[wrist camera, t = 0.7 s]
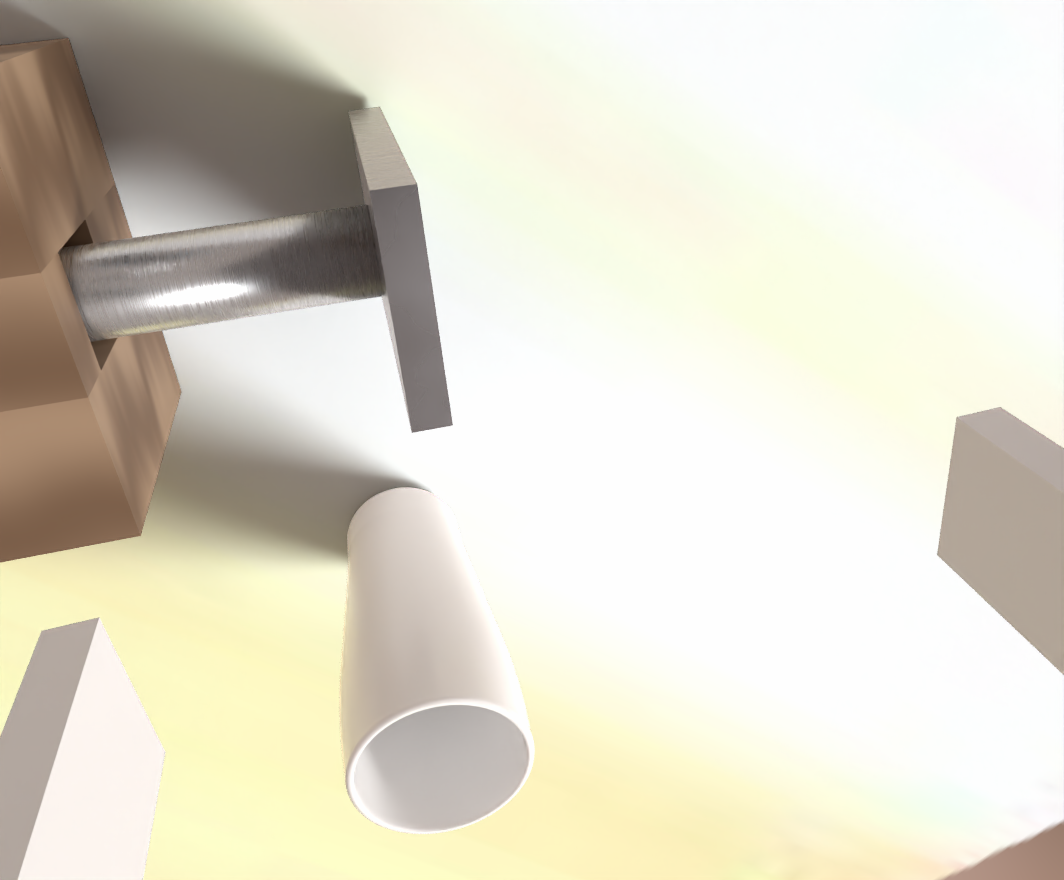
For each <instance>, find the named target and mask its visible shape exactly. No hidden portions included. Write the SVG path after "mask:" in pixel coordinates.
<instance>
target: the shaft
mask: <svg viewBox="0 0 1064 880" xmlns="http://www.w3.org/2000/svg"><path fill="white" fill-rule="evenodd" d="M348 113H349V119H350V124H351V130H352V135H353V141H354V147H355V152H356V158H357V163H358V169H359V175H360V180H361V186H362V191H363V197H364V202H365V205H362V206H355V207H348V208H341V209H333V210H326V211H319V212H312V213H305V214H298V215H291V216H284V217H277V218H270V219H262V220H255V221H248V222H241V223H234V224H227V225H220V226H213V227H206V228H199V229H191V230H184V231H177V232H170V233H163V234H156V235H149V236H142V237H135V238H128V239H120V240H113V241H106V242H99V243H92V244H85V245H78V246H71V247H64V248H61V249H60V250H59V252H58V254H59V257H60V260H61V263H62V265H63V268H64V271H65V274H66V276H67V279H68V282H69V285H70V287H71V290H72V293H73V295H74V298H75V301H76V304H77V306H78V309H79V312H80V315H81V317H82V320H83V323H84V326H85V328H86V331H87V334H88V337H89V339H90V342H93V341H99V340H106V339H112V338H118V337H125V336H131V335H137V334H144V333H150V332H157V331H163V330H169V329H176V328H182V327H188V326H195V325H201V324H208V323H214V322H220V321H227V320H233V319H239V318H246V317H252V316H259V315H265V314H271V313H278V312H284V311H290V310H297V309H303V308H310V307H316V306H322V305H329V304H335V303H341V302H348V301H354V300H360V299H367V298H373V297H380V296H382V300H383V304H384V309H385V313H386V318H387V322H388V327H389V331H390V336H391V340H392V345H393V349H394V354H395V358H396V363H397V368H398V372H399V377H400V381H401V386H402V390H403V395H404V399H405V404H406V408H407V413H408V417H409V422H410V426H411V431H412V433H413V432H418V431H424V430H429V429H435V428H440V427H446V426H451V425H453V424H452V417H451V411H450V404H449V397H448V390H447V384H446V377H445V370H444V363H443V357H442V350H441V343H440V336H439V330H438V323H437V316H436V309H435V302H434V296H433V289H432V282H431V275H430V269H429V262H428V255H427V248H426V242H425V235H424V228H423V221H422V214H421V208H420V201H419V194H418V187H417V183H416V181H415V179H414V177H413V175H412V173H411V170H410V168H409V166H408V164H407V162H406V160H405V158H404V156H403V154H402V152H401V150H400V148H399V146H398V143H397V141H396V139H395V137H394V135H393V133H392V131H391V129H390V127H389V125H388V123H387V121H386V119H385V116H384V114H383V112H382V110H381V108H380V107H374V108H366V109H358V110H350V111H348Z"/></svg>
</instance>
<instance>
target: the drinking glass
mask: <svg viewBox="0 0 1064 880" xmlns="http://www.w3.org/2000/svg"><path fill="white" fill-rule="evenodd" d="M347 549H348V571H347V587H346V601H345V615H344V628H343V641H342V654H341V668H340V687H339V717H340V736H341V748H342V757H343V766H344V774H345V785H346V789H347V793H348V795H349V798H350V800H351V801H352V803H353V805H354V806H355V807H356V809H357V810H358V811H359V812H360V813H361V814H362V815H363V816H365V817H366V818H367V819H369V820H370V821H372V822H374V823H375V824H377V825H379V826H382V827H384V828H387V829H390V830H394V831H398V832H403V833H412V834H432V833H441V832H446V831H451V830H455V829H459V828H462V827H465V826H468V825H471V824H473V823H476V822H478V821H480V820H482V819H484V818H486V817H488V816H490V815H491V814H493V813H494V812H496V811H498V810H499V809H500V808H502V807H503V806H504V805H505V804H507V803H508V802H509V801H510V800H511V799H512V798H513V797H514V796H515V795H516V794H517V793H518V791H519V790H520V789H521V788H522V786H523V785H524V783H525V782H526V780H527V778H528V776H529V774H530V771H531V769H532V765H533V761H534V741H533V737H532V733H531V728H530V724H529V719H528V715H527V710H526V706H525V702H524V698H523V695H522V691H521V687H520V684H519V680H518V677H517V674H516V671H515V668H514V665H513V662H512V659H511V656H510V654H509V651H508V648H507V646H506V643H505V641H504V639H503V636H502V634H501V631H500V629H499V627H498V624H497V622H496V620H495V617H494V615H493V613H492V610H491V608H490V606H489V603H488V601H487V599H486V596H485V594H484V592H483V589H482V587H481V585H480V582H479V580H478V578H477V575H476V573H475V571H474V568H473V566H472V563H471V561H470V559H469V556H468V554H467V551H466V549H465V546H464V544H463V541H462V539H461V536H460V532H459V528H458V524H457V521H456V518H455V516H454V514H453V512H452V510H451V509H450V508H449V506H448V505H447V504H446V503H445V502H444V501H443V500H442V499H441V498H439V497H438V496H436V495H434V494H433V493H431V492H428V491H426V490H422V489H418V488H410V487H401V488H394V489H390V490H386V491H383V492H381V493H379V494H377V495H375V496H373V497H371V498H370V499H369V500H367V501H366V502H365V503H364V504H363V505H362V506H361V507H360V508H359V509H358V510H357V512H356V513H355V515H354V516H353V518H352V520H351V522H350V525H349V529H348V534H347Z"/></svg>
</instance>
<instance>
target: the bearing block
mask: <svg viewBox="0 0 1064 880" xmlns="http://www.w3.org/2000/svg"><path fill="white" fill-rule="evenodd" d="M128 238H132V235H131V232H130V229H129V226H128V223H127V220H126V216H125V213H124V210H123V207H122V204H121V201H120V198H119V194H118V191H117V188H116V185H115V182H114V179H113V176H112V173H111V169H110V166H109V163H108V160H107V157H106V154H105V151H104V147H103V144H102V141H101V138H100V135H99V132H98V129H97V125H96V122H95V119H94V116H93V113H92V110H91V107H90V103H89V100H88V97H87V94H86V91H85V88H84V85H83V82H82V78H81V75H80V72H79V69H78V66H77V63H76V60H75V56H74V53H73V50H72V47H71V44H70V41H69V38H64V39H54V40H45V41H36V42H26V43H17V44H8V45H0V562H5V561H10V560H15V559H21V558H26V557H31V556H36V555H42V554H47V553H52V552H57V551H63V550H68V549H73V548H79V547H84V546H89V545H94V544H100V543H105V542H110V541H115V540H121V539H126V538H131V537H136V536H141V533H142V529H143V526H144V522H145V519H146V515H147V512H148V508H149V504H150V501H151V497H152V494H153V490H154V487H155V483H156V480H157V476H158V473H159V469H160V466H161V462H162V459H163V455H164V451H165V448H166V444H167V441H168V437H169V434H170V430H171V427H172V423H173V420H174V416H175V413H176V409H177V406H178V402H179V399H180V395H181V389H180V386H179V383H178V380H177V376H176V373H175V370H174V367H173V364H172V361H171V358H170V355H169V351H168V348H167V345H166V342H165V339H164V336H163V333H162V331H157V332H150V333H144V334H137V335H131V336H125V337H118V338H112V339H106V340H99V341H93V342H90V339H89V337H88V334H87V331H86V328H85V326H84V323H83V320H82V317H81V315H80V312H79V309H78V306H77V304H76V301H75V298H74V295H73V293H72V290H71V287H70V285H69V282H68V279H67V276H66V274H65V271H64V268H63V265H62V263H61V260H60V257H59V254H58V252H59V250H60V249H61V248H64V247H71V246H78V245H85V244H92V243H99V242H106V241H113V240H120V239H128Z"/></svg>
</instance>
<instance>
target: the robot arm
mask: <svg viewBox="0 0 1064 880" xmlns="http://www.w3.org/2000/svg"><path fill="white" fill-rule="evenodd" d="M937 555H938V556H939V557H940V558H941V559H942V560H943V561H944V562H945V563H946V564H947V565H948V566H949V567H950V568H952V569H953V570H954V571H955V572H956V573H957V574H958V575H959V576H960V577H961V578H962V579H963V580H964V581H965V582H966V583H967V584H968V585H969V586H971V587H972V588H973V589H974V590H975V591H976V592H977V593H978V594H979V595H980V596H981V597H982V598H983V599H984V600H985V601H986V602H987V603H988V604H990V605H991V606H992V607H993V608H994V609H995V610H996V611H997V612H998V613H999V614H1000V615H1001V616H1002V617H1003V618H1004V619H1005V620H1006V621H1007V622H1009V623H1010V624H1011V625H1012V626H1013V627H1014V628H1015V629H1016V630H1017V631H1018V632H1019V633H1020V634H1021V635H1022V636H1023V637H1024V638H1025V639H1026V640H1028V641H1029V642H1030V643H1031V644H1032V645H1033V646H1034V647H1035V648H1036V649H1037V650H1038V651H1039V652H1040V653H1041V654H1042V655H1043V656H1044V657H1045V658H1047V659H1048V660H1049V661H1050V662H1051V663H1052V664H1053V665H1054V666H1055V667H1056V668H1057V669H1058V670H1059V671H1060V672H1061V673H1062V674H1063V675H1064V448H1062V447H1061V446H1059V445H1058V444H1056V443H1055V442H1053V441H1052V440H1050V439H1049V438H1047V437H1045V436H1044V435H1042V434H1041V433H1039V432H1038V431H1036V430H1035V429H1033V428H1032V427H1030V426H1029V425H1027V424H1025V423H1024V422H1022V421H1021V420H1019V419H1018V418H1016V417H1015V416H1013V415H1012V414H1010V413H1008V412H1007V411H1005V410H1004V409H1002V408H1001V407H998V408H994V409H990V410H985V411H981V412H977V413H973V414H968V415H964V416H960V417H957V418H956V425H955V433H954V440H953V447H952V454H951V461H950V468H949V475H948V482H947V489H946V496H945V503H944V510H943V517H942V524H941V532H940V539H939V546H938V553H937ZM164 757H165V750H164V748H163V746H162V744H161V742H160V740H159V738H158V736H157V734H156V732H155V730H154V728H153V726H152V724H151V722H150V720H149V718H148V716H147V714H146V712H145V710H144V708H143V705H142V703H141V701H140V699H139V697H138V695H137V693H136V691H135V689H134V687H133V685H132V683H131V681H130V679H129V677H128V675H127V673H126V671H125V669H124V667H123V665H122V663H121V661H120V659H119V657H118V655H117V652H116V650H115V648H114V646H113V644H112V642H111V640H110V638H109V636H108V634H107V632H106V630H105V628H104V626H103V624H102V622H101V620H100V618H95V619H91V620H86V621H82V622H78V623H73V624H69V625H65V626H61V627H56V628H52V629H48V630H44V631H41V634H40V637H39V639H38V642H37V644H36V647H35V649H34V652H33V654H32V657H31V660H30V662H29V665H28V667H27V670H26V672H25V675H24V677H23V680H22V683H21V685H20V688H19V690H18V693H17V695H16V698H15V701H14V703H13V706H12V708H11V711H10V713H9V716H8V718H7V721H6V724H5V726H4V729H3V731H2V734H1V736H0V880H143V877H144V871H145V865H146V860H147V854H148V848H149V843H150V837H151V831H152V826H153V820H154V814H155V808H156V803H157V797H158V791H159V786H160V780H161V774H162V769H163V763H164Z"/></svg>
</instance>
